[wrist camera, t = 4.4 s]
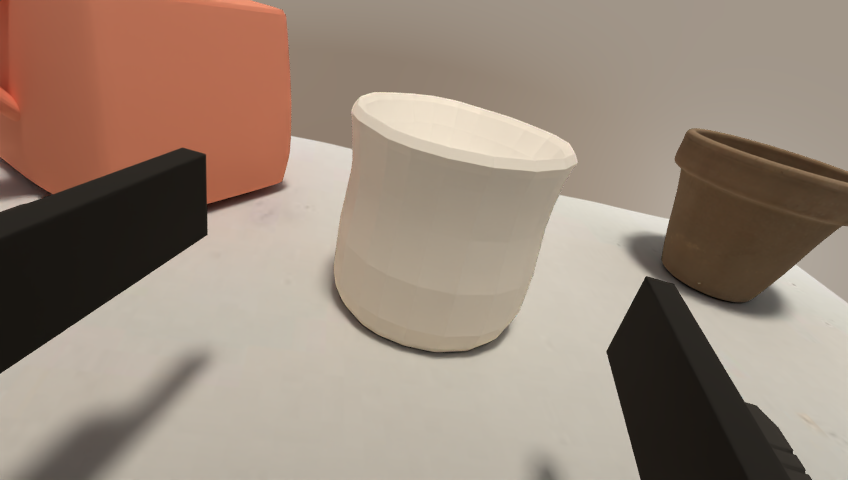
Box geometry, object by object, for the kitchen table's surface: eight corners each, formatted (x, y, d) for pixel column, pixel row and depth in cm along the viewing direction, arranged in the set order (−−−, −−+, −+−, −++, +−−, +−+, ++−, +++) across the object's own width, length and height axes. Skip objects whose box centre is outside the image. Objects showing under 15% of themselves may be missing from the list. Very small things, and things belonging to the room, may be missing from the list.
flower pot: (735, 257, 40) (802, 148, 35) (831, 342, 29) (944, 204, 25) (610, 230, 39) (661, 116, 34) (664, 306, 29) (748, 159, 24)
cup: (351, 237, 28) (375, 79, 24) (504, 271, 29) (556, 121, 24) (302, 331, 20) (325, 116, 16) (519, 380, 20) (603, 180, 16)
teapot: (336, 177, 37) (360, -14, 30) (-6, 279, 19) (-123, -130, 13) (181, 108, 44) (173, -57, 38) (-171, 135, 26) (-298, -169, 20)
